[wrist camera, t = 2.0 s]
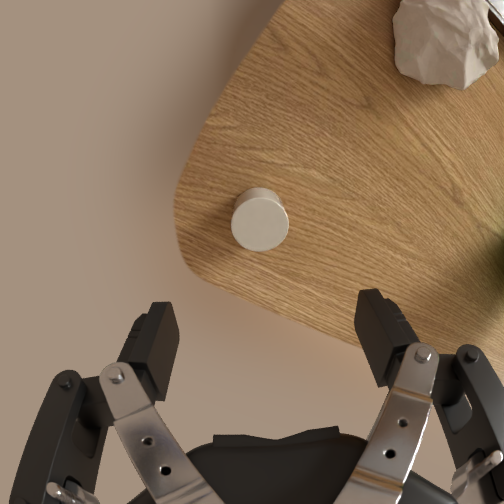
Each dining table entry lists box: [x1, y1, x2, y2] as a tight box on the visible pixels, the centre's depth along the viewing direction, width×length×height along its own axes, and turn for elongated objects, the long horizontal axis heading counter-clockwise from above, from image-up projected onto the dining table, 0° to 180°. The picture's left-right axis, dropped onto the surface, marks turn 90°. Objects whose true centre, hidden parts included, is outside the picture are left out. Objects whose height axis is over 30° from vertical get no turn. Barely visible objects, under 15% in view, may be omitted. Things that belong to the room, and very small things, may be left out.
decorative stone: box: [392, 0, 499, 90], centre depth 13 cm, size 11×4×15 cm
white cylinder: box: [231, 188, 289, 251], centre depth 21 cm, size 4×4×3 cm
